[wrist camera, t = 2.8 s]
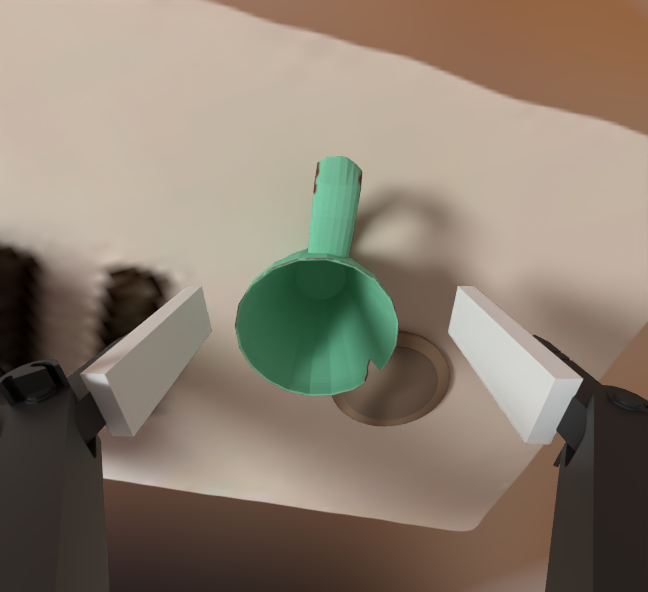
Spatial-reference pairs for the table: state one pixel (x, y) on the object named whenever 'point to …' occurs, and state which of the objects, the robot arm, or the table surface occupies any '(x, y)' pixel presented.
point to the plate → (399, 385)
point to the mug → (320, 301)
